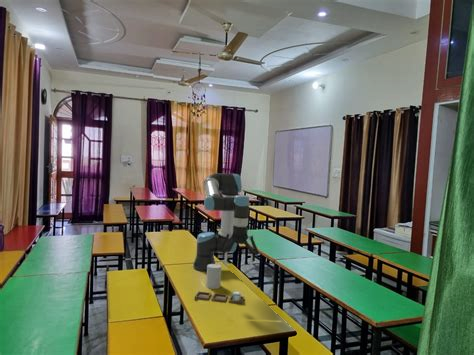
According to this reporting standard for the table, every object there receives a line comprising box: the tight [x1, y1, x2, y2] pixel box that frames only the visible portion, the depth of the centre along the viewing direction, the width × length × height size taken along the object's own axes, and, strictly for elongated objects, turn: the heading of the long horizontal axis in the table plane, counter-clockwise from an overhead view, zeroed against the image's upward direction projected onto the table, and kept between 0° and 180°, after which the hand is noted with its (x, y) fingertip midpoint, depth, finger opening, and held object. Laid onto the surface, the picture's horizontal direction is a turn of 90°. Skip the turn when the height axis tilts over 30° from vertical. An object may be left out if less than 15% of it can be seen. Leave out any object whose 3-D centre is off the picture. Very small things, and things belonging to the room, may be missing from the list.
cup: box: [205, 263, 222, 290], centre depth 195 cm, size 8×8×12 cm
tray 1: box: [193, 290, 212, 301], centre depth 179 cm, size 7×7×2 cm
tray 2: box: [210, 292, 229, 303], centre depth 178 cm, size 7×7×2 cm
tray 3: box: [228, 294, 245, 305], centre depth 177 cm, size 7×7×2 cm
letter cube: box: [232, 291, 242, 301], centre depth 176 cm, size 4×4×4 cm
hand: (238, 266), depth 176 cm, fingers open, 13 cm apart
